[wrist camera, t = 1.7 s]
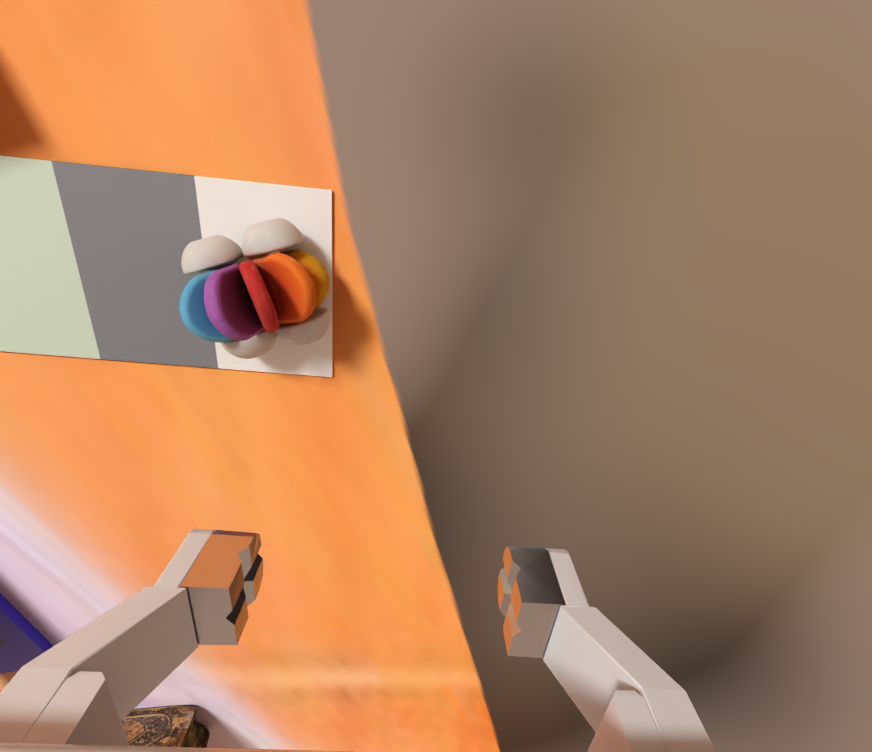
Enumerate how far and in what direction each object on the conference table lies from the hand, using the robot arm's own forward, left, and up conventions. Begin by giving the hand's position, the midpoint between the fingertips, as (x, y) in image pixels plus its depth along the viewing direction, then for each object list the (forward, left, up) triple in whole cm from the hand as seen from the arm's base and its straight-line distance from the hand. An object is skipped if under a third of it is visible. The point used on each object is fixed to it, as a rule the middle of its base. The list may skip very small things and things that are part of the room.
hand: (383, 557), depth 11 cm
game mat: (0, -19, -24) cm, 31 cm away
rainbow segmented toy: (0, -10, -24) cm, 26 cm away
